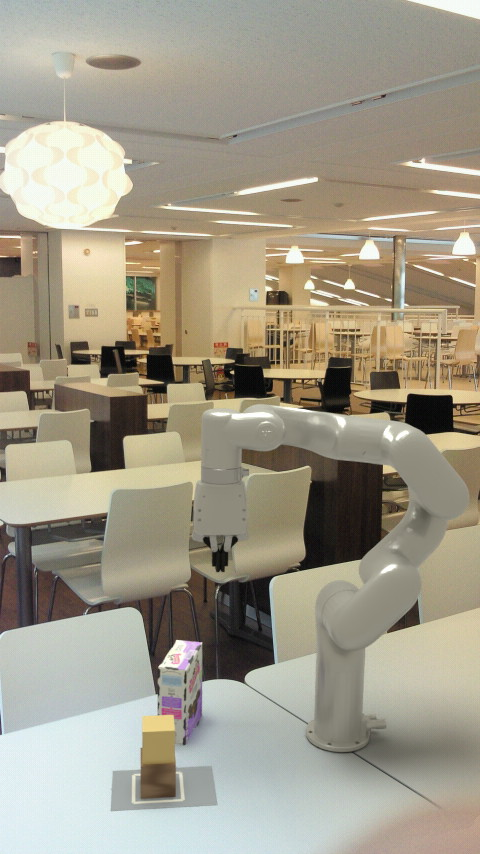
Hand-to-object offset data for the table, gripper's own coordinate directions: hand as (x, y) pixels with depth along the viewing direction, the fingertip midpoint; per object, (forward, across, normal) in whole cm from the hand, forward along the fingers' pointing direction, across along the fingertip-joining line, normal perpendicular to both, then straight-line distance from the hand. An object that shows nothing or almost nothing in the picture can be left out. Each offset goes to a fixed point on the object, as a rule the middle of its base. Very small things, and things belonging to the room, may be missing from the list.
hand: (219, 569), depth 160 cm
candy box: (+35, +7, -5) cm, 36 cm away
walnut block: (+34, +12, +16) cm, 40 cm away
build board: (+35, +11, +16) cm, 40 cm away
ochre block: (+28, +12, +16) cm, 34 cm away
